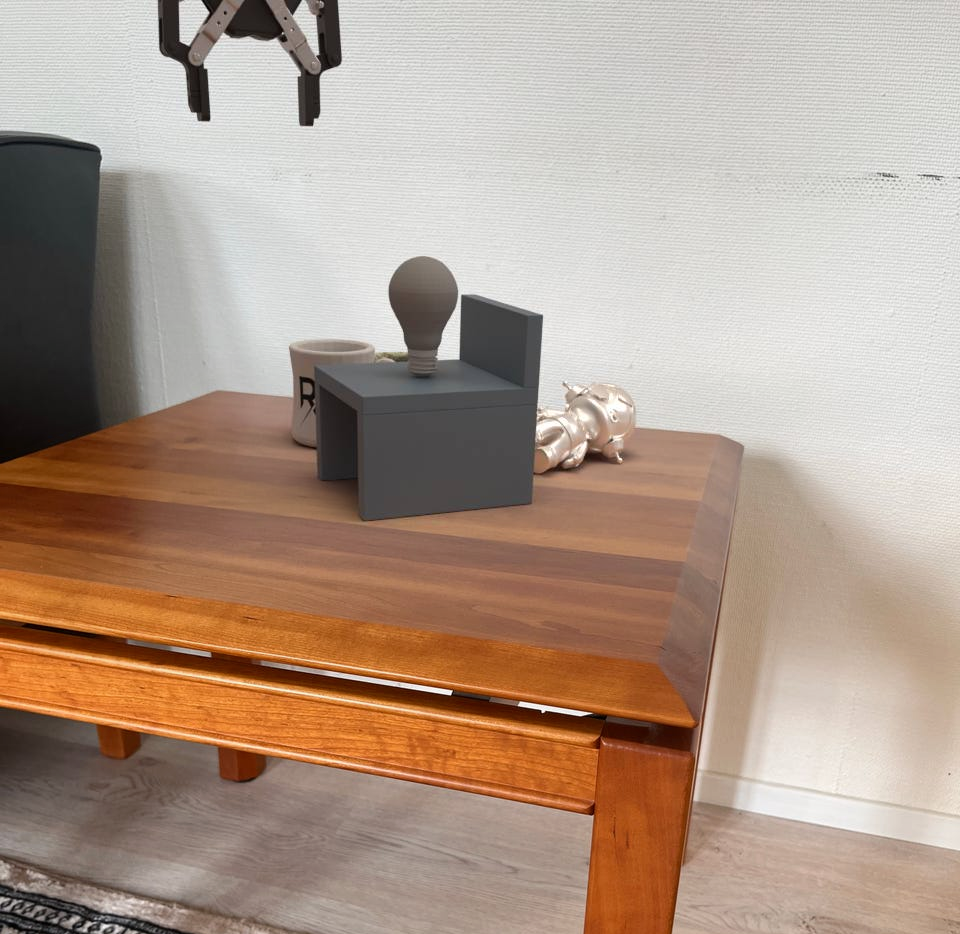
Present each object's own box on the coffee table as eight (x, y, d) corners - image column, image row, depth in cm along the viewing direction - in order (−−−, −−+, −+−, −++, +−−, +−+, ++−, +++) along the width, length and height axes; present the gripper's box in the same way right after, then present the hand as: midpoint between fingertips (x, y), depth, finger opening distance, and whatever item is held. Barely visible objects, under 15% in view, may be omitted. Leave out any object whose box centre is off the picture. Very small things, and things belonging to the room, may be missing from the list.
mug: (279, 447, 107) (275, 349, 103) (306, 427, 115) (303, 336, 111) (394, 456, 106) (395, 357, 101) (413, 435, 114) (414, 343, 109)
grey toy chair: (363, 521, 86) (361, 319, 79) (317, 476, 98) (311, 296, 91) (531, 503, 93) (543, 315, 86) (469, 463, 104) (475, 294, 97)
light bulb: (450, 369, 94) (453, 254, 90) (460, 382, 89) (464, 260, 84) (385, 369, 93) (385, 252, 89) (391, 382, 88) (391, 258, 83)
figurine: (514, 389, 99) (614, 346, 107) (482, 430, 105) (579, 386, 113) (576, 478, 98) (672, 427, 106) (540, 514, 104) (634, 463, 112)
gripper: (320, -94, 83) (326, 128, 90) (139, -119, 78) (160, 120, 85) (349, -112, 77) (352, 127, 84) (154, -141, 72) (175, 118, 79)
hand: (256, 123), depth 84 cm, fingers open, 8 cm apart
